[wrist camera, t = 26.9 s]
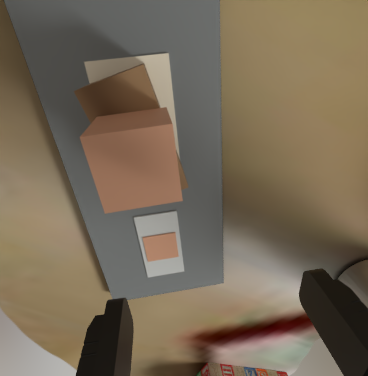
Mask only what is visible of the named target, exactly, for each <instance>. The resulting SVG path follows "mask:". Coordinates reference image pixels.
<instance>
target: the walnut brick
mask: <svg viewBox="0 0 368 376" xmlns="http://www.w3.org/2000/svg"><path fill="white" fill-rule="evenodd" d="M74 93H75V95H76V97H77V99H78V100H79V102H80V104H81V106H82V108H83V110H84V112H85V114H86V115H87V117H88V119H89V121H90V123H92V122H93V121H94V120H95V118H96V117H99V116H106V115H113V114H121V113H128V112H135V111H142V110H149V109H156V108H160V105H159V102H158V99H157V97H156V94H155V91H154V89H153V86H152V83H151V80H150V78H149V75H148V72H147V70H146V67H145V64H144V63H143V64H140V65H138V66H135V67H132V68H130V69H127V70H125V71H122V72H119V73H117V74H114V75H112V76H109V77H106V78H104V79H101V80H99V81H96V82H93V83H91V84H88V85H86V86H84V87H82V88H80V89H77V90H75V91H74ZM176 154H177V151H176ZM177 161H178V169H179V176H180V184H181V190H183V189H185V188H188V183H187V180H186V177H185V174H184V171H183V167H182V164H181V162H180V159H179V156H178V154H177Z"/></svg>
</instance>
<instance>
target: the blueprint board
mask: <svg viewBox="0 0 368 376" xmlns="http://www.w3.org/2000/svg"><path fill="white" fill-rule="evenodd" d="M4 2H5V5H6V8H7V11H8V13H9V16H10V19H11V22H12V24H13V27H14V30H15V33H16V35H17V38H18V41H19V43H20V46H21V49H22V52H23V54H24V57H25V60H26V63H27V65H28V68H29V71H30V74H31V76H32V79H33V82H34V85H35V87H36V90H37V93H38V96H39V98H40V101H41V104H42V107H43V109H44V112H45V115H46V118H47V120H48V123H49V126H50V128H51V131H52V134H53V137H54V139H55V142H56V145H57V148H58V150H59V153H60V156H61V159H62V161H63V164H64V167H65V170H66V172H67V175H68V178H69V181H70V183H71V186H72V189H73V192H74V194H75V197H76V200H77V202H78V205H79V208H80V211H81V213H82V216H83V219H84V222H85V224H86V227H87V230H88V233H89V235H90V238H91V241H92V244H93V246H94V249H95V252H96V255H97V257H98V260H99V263H100V266H101V268H102V271H103V274H104V277H105V279H106V282H107V285H108V287H109V290H110V293H111V296H112V298H113V299H118V298H124V297H126V299H127V300H130V299H135V298H141V297H147V296H153V295H158V294H164V293H170V292H176V291H181V290H187V289H193V288H198V287H204V286H210V285H216V284H221V283H224V276H223V204H222V133H221V62H220V0H4ZM143 63H144V64H145V67H146V70H147V72H148V75H149V78H150V80H151V83H152V86H153V89H154V91H155V94H156V97H157V99H158V102H159V105H160V108H164V107H167V110H168V113H169V116H170V118H171V121H172V124H173V131H174V138H175V146H176V151H177V154H178V156H179V159H180V162H181V164H182V167H183V171H184V174H185V177H186V180H187V183H188V188H185V189H183V190H181V191H182V199H183V201H179V202H173V203H167V204H161V205H155V206H149V207H143V208H136V209H130V210H124V211H118V212H112V213H106V214H105V212H104V209H103V206H102V203H101V200H100V197H99V194H98V191H97V188H96V185H95V182H94V179H93V176H92V173H91V170H90V167H89V164H88V161H87V158H86V155H85V152H84V149H83V146H82V143H81V140H80V136H81V135H82V134H83V133H84V131H85V130H86V129H87V128H88V127H89V125H90V124H91V123H90V121H89V119H88V117H87V115H86V114H85V112H84V110H83V108H82V106H81V104H80V102H79V100H78V99H77V97H76V95H75V93H74V91H75V90H77V89H80V88H82V87H84V86H86V85H88V84H91V83H93V82H96V81H99V80H101V79H104V78H106V77H109V76H112V75H114V74H117V73H119V72H122V71H125V70H127V69H130V68H132V67H135V66H138V65H140V64H143Z"/></svg>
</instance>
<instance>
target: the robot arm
mask: <svg viewBox="0 0 368 376" xmlns="http://www.w3.org/2000/svg"><path fill="white" fill-rule="evenodd" d="M299 298H300V302H301V305H302V307H303V308H304V310H305V312H306V313H307V315H308V317H309V318H310V320H311V322H312V323H313V325H314V327H315V328H316V330H317V332H318V333H319V335H320V337H321V338H322V340H323V342H324V343H325V345H326V347H327V348H328V350H329V352H330V353H331V355H332V357H333V358H334V360H335V361H336V363H337V365H338V367H339V368H340V370H341V372H342V373H343V375H344V376H368V260H364V261H361V262H359V263H356V264H354V265H353V266H351V267H349V268H348V269H347V270H345V271H344V272H343V273H342V274H341V275H340V276H339V278H338V279H337V280H333V279H332V278H331V277H330V276H329V274H328V273H327V272H326V271H325V270H324V269H315V270H308V271H305V272H304V273H303V277H302V282H301V286H300V291H299ZM132 345H133V319H132V315H131V312H130V309H129V305H128V302H127V299H126V297H124V298H118V299H111V300H108V301H107V303H106V308H105V313H104V315H97V316H95V317H94V319H93V321H92V322H91V324H90V325H89V327H88V329H87V332H86V336H85V340H84V346H83V349H82V353H81V358H80V361H79V365H78V369H77V373H76V376H130V371H131V358H132Z"/></svg>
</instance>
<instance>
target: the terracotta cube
mask: <svg viewBox="0 0 368 376" xmlns="http://www.w3.org/2000/svg"><path fill="white" fill-rule="evenodd" d="M80 140H81V143H82V146H83V149H84V152H85V155H86V158H87V161H88V164H89V167H90V170H91V173H92V176H93V179H94V182H95V185H96V188H97V191H98V194H99V197H100V200H101V203H102V206H103V209H104V212H105V214H106V213H112V212H118V211H124V210H130V209H136V208H143V207H149V206H155V205H161V204H167V203H173V202H179V201H183V199H182V191H181V184H180V176H179V169H178V161H177V154H176V146H175V138H174V131H173V124H172V121H171V118H170V116H169V113H168V110H167V107H164V108H156V109H149V110H142V111H135V112H128V113H121V114H113V115H106V116H99V117H96V118H95V120H94V121H93V122H92V123H91V124H90V125H89V127H88V128H87V129H86V130H85V131H84V133H83V134H82V135H81V136H80Z"/></svg>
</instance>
